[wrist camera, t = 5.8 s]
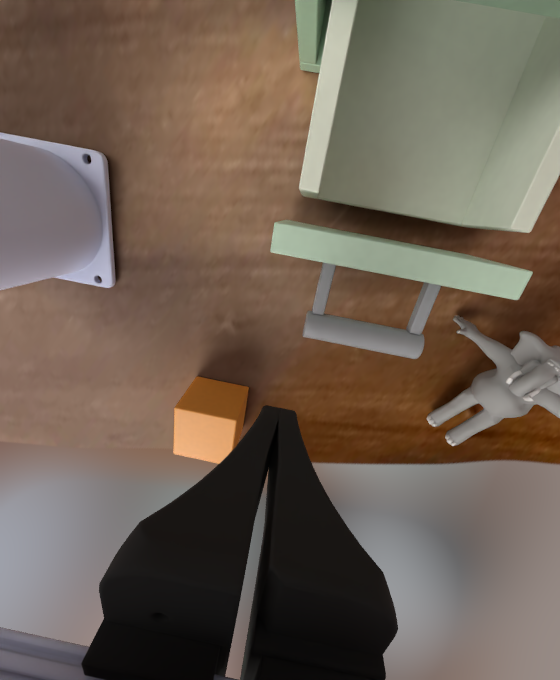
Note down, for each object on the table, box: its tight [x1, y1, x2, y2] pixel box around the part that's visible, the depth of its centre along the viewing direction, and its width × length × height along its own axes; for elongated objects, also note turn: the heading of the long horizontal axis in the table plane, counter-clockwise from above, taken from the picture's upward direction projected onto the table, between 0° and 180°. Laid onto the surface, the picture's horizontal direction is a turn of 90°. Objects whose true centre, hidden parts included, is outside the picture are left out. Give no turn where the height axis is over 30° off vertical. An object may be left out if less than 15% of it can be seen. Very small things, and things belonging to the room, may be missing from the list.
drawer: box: [270, 0, 560, 359], centre depth 13 cm, size 17×10×5 cm, turn 170°
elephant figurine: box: [427, 315, 560, 446], centre depth 18 cm, size 10×6×9 cm
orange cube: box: [174, 376, 249, 464], centre depth 21 cm, size 4×4×4 cm
